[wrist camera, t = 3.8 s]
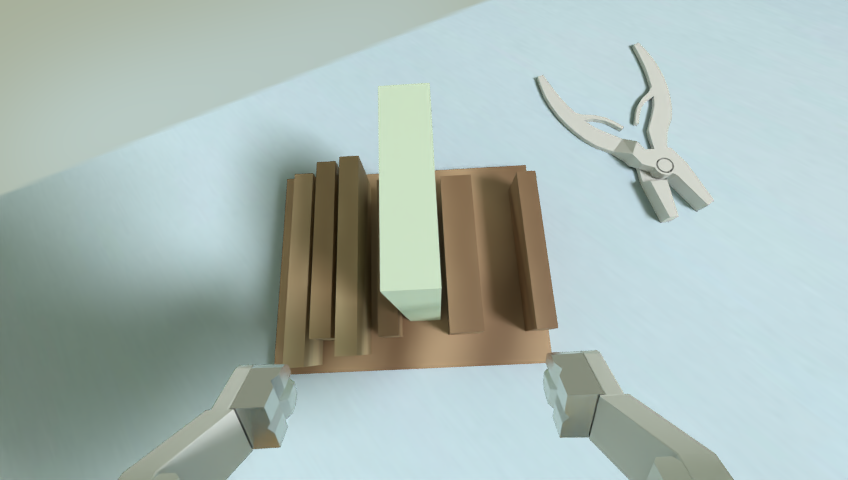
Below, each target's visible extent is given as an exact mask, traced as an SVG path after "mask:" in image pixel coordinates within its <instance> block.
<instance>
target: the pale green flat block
mask: <svg viewBox="0 0 848 480" xmlns="http://www.w3.org/2000/svg"><path fill="white" fill-rule="evenodd" d="M378 122H379V229H380V292H381V293H382V294H383V295H384V296H385V297H386V298H387V299H388V300H389V301H390V302H391V303H392V304H393V305H394V306H395V307H396V308H397V309H398V310H399V311H400V312H401V313H402V314H403V315H404V316H405V317H407V318H408V319H409V320H410V321H426V320H440V315H441V290H442V287H441V270H440V253H439V236H438V219H437V202H436V185H435V167H434V150H433V133H432V116H431V99H430V83H421V84H405V85H390V86H378Z"/></svg>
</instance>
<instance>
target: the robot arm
mask: <svg viewBox="0 0 848 480" xmlns="http://www.w3.org/2000/svg"><path fill="white" fill-rule="evenodd" d="M545 362H546V365H547V368H548V369H547V370H546V371H545V372H544V377H543V384H544V392H545V396H546V399H547V402H548V404H549V405H550V406H551V407H553V408H554V411H553V420H554V422H555V425H556V428H557V431H558V434H559V437H560V438H562V437H589V439H590V440H591V441H592V442H593V443H594V444H595V445H596V446H597V447H598V448H599V449H600V450H601V451H602V452H603V453H604V454H605V455H606V456H607V458H608V459H609V460H610V461H611V462H612V463H613V464H614V465H615V466H616V467H617V468H618V469H619V470H620V471H621V472H622V473H623V474H624V475H625V476H626V477H627V478H628V479H629V480H734V479H733V478H732V477H731V475H730V474H729V472H728V471H727V469H726V468H725V467H724V465H723V464H722V462H721V461H720V460H719V458H718V457H717V455H716V454H715V453H713V452H712V451H711V450H709V449H708V448H706V447H705V446H703V445H702V444H701V443H699V442H698V441H696V440H695V439H693V438H692V437H690V436H689V435H688V434H686V433H685V432H683V431H682V430H680V429H679V428H677V427H676V426H675V425H673V424H672V423H670V422H669V421H667V420H666V419H665V418H663V417H662V416H660V415H659V414H657V413H656V412H654V411H653V410H652V409H650V408H649V407H647V406H646V405H644V404H643V403H642V402H640V401H639V400H637V399H636V398H634V397H633V396H631V395H630V394H624V393H623V391H622V389H621V388H620V386H619V384H618V382H617V381H616V379H615V377H614V376H613V374H612V372H611V370H610V369H609V367H608V365H607V363H606V362H605V360H604V358H603V357H602V355H601V353H600V352H599V351H597V350H594V351H573V352H554V353H548V354H547V355H546V361H545ZM290 374H291V370H290V368H289V365H286V364H269V365H239V366H238V367H237V368H236V369H235V370H234V372H233V373H232V375H231V377H230V378H229V380H228V382H227V383H226V385H225V387H224V388H223V390H222V392H221V394H220V395H219V397H218V399H217V400H216V402H215V404H214V405H213V407H212V409H211V410H206V411H204V412H203V413H202V414H200V415H199V416H198V417H196V418H195V419H194V420H192V421H191V422H190V423H189V424H187V425H186V426H185V427H183V428H182V429H181V430H179V431H178V432H177V433H175V434H174V435H173V436H171V437H170V438H169V439H167V440H166V441H165V442H163V443H162V444H161V445H159V446H158V447H157V448H155V449H154V450H153V451H151V452H150V453H149V454H147V455H146V456H145V457H143V458H142V459H141V460H139V461H138V462H137V463H135V464H134V465H133V466H131V467H130V468H129V469H127V470H126V471H125V472H123V473H122V475H121V476H120V477H119V479H118V480H226V479H227V478H228V477H229V476H230V475H231V474H232V473H233V472H234V471H235V469H236V468H237V467H238V466H239V465H240V464H241V463H242V462H243V461H244V460H245V459H246V457H247V456H248V455H249V454H250V453H251V452H252V449H262V448H278V447H281V444H282V442H283V439H284V436H285V433H286V431H287V428H288V425H287V423H286V419H287V418H288V417H289V416H290V415H291V414H293V411H294V408H295V405H296V398H297V391H296V386H295V382H293V381H292V380H291V379H289V377H290Z"/></svg>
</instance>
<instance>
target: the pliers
mask: <svg viewBox="0 0 848 480" xmlns="http://www.w3.org/2000/svg"><path fill="white" fill-rule="evenodd" d="M632 49H633V51H634V53H635V54H636V56H637V58H638V60H639V62H640V65H641V67H642V69H643V71H644V73H645V76H646V79H647V83H648V86H649V91H648V93H647V94H646V95H645V96H644V97H643V98H642V99H641V101H640V102H639V104H638V105H637V107H636V109H635V113H634V122H633V126H637V125H638V124H639V115H640V111H641V107H642V106H643V104H644V103H645V102H647V101H649V100H650V99H652V111H651V116H650V120H649V124H648V127H647V131H646V134H647V137H648V140H649V143H650V147H651V149H644V148H643V147H642V146H641V145H640V144H639V143H638V142H637V141H632V140H626V139H621V138H619V137H616V136H614V135H611V134H609V133H606V132H604V131H602V130H599V129H597V128H595V127H593V126H591V125H590V124H589V123H587V122H598V123H603V124H606V125H608V126H610V127H612V128H614V129H616V130H618V131H619V132H620V131H621V130H622V129H623V126H621V125H619V124H618V123H616V122H614V121H612V120H610V119H607V118H605V117H601V116H596V115H582V114H578V113H575V112H574V111H573V110H572V109H571V108H570V107H569V106H568V105H567V104H566V103H565V102H564V101H563V100H562V99H561V98H560V97H559V95H558V94H557V93H556V92H555V90H554V89H553V88H552V87H551V85H550V84H549V83H548V81H547V80H546V78H545V77H544V75H542V76H539V77H538V78H537V81H538V84H539V87H540V90H541V92H542V95H543V97H544V99H545V101H546V103H547V104H548V106H549V108H550V109H551V110H552V112H553V113H554V114H555V116H556V117H557V118H558V119H559V120H560V121H561V123H562V124H563V125H564V126H565V127H566V128H568V129H569V130H570V131H571V132H572V133H573V134H574V135H576V136H577V137H578V138H579V139H581V140H582V141H584V142H585V143H587V144H589V145H590V146H592V147H594V148H596V149H599V150H601V151H604V152H607V153H610V154H612V155H613V156H615V157H617V158H618V159H620V160H622V161H623V162H625V163H626V164H627V165H628V166H630V167H634V168H636V171H637V174H638V178H639V181H640V185H641V186H642V188H643V190H644V192H645V194H646V196H647V198H648V200H649V202H650V204H651V205H652V207H653V209H654V211H655V213H656V215H657V217H658V219H659V221H660V223H662V222H669V221H671V220H673V219H675V218H677V217H678V213H677V209H676V206H675V203H674V200H673V197H672V193H671V190H670V187H669V185H670V186H671V187H672V188H673V189H674V190H675V191H676V192H677V193H678V194H679V195H680V196H681V197H682V198H683V199H684V200H685V201H686V202H687V203H688V204H689V205H690V206H691V207H692V208H693V209H694V210H695V211H696V212H697V211H698V210H700V209H702V208H704V207H706V206H708V205H709V204H710V203H712V202H713V201H714V199H713V198H712V197H711V195H710V194H709V193H708V191H707V190H706V188H705V187H704V186H703V184H702V183H701V182H700V180H699V179H698V178H697V176H696V175H695V173H694V172H693V171H692V169H691V168H690V167H689V165H688V164H687V163H686V162H685V161H684V160H683V159H682V158H681V157H680V156H679V155H678V154H677V153H676V152H675V151H674V150H673V149H672V148H668V147H667V132H668V128H669V125H670V122H671V119H672V106H671V99H670V94H669V90H668V87H667V84H666V81H665V79H664V76H663V74H662V73H661V71H660V69H659V67H658V65H657V64H656V62H655V61H654V59H653V58H652V57H651V56H650V54H649V53H648V52H647V51H646V50H645V49H644V48H643V47H642V46H641V44H640V43H637V44H634V45H633V47H632ZM666 178H667V180H664V179H666Z"/></svg>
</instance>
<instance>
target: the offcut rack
mask: <svg viewBox="0 0 848 480" xmlns="http://www.w3.org/2000/svg"><path fill="white" fill-rule="evenodd" d="M435 185H436V202H437V219H438V236H439V253H440V270H441V287H442V290H441V315H440V320H426V321H410V320H409V319H408V318H407V317H405V316H404V315H403V314H402V313H401V312H400V311H399V310H398V309H397V308H396V307H395V306H394V305H393V304H392V303H391V302H390V301H389V300H388V299H387V298H386V297H385V296H384V295H383V294H382V293H381V292H380V229H379V174H368V175H366V173H365V170H364V168H363V166H362V163H361V161H360V158H359V156H346V157H339V167H338V165H337V163H336V161H330V162H317V171H316V177H315V175H314V174H313V173H309V174H295V179H287V192H286V206H285V220H284V234H283V248H282V263H281V277H280V291H279V305H278V319H277V333H276V347H275V361H274V364H286V365H289V368H290V370H291V374H310V373H332V372H354V371H376V370H399V369H421V368H443V367H465V366H488V365H510V364H532V363H546V362H545V361H546V355H547V354H548V353H552V352H551V345H550V338H549V331H548V330H549V329H555V328H558V323H557V316H556V310H555V303H554V296H553V289H552V282H551V276H550V269H549V262H548V255H547V248H546V241H545V235H544V228H543V221H542V214H541V207H540V201H539V194H538V187H537V180H536V173H535V171H526V165H521V166H504V167H487V168H470V169H453V170H436V171H435Z"/></svg>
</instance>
